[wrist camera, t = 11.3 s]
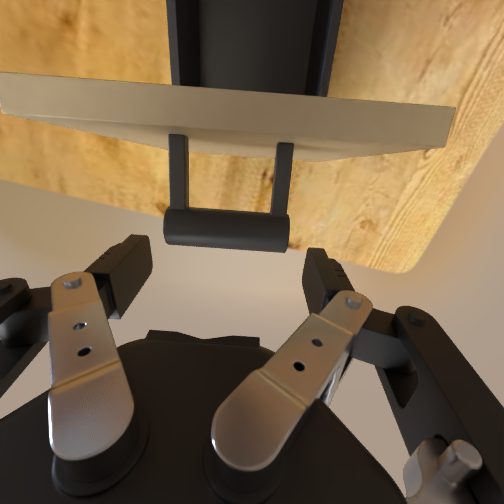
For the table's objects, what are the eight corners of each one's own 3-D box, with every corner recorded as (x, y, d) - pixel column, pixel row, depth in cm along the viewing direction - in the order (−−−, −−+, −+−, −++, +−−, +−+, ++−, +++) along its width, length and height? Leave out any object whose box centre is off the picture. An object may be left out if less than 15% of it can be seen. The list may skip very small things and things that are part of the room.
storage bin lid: (-8, 70, 8) (30, 253, 10) (457, 106, 8) (408, 280, 10) (173, 138, 26) (175, 199, 28) (318, 149, 26) (310, 209, 28)
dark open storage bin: (191, -51, 27) (156, -134, 18) (329, -39, 27) (364, -116, 18) (197, 136, 35) (175, 144, 26) (302, 144, 36) (316, 154, 27)
